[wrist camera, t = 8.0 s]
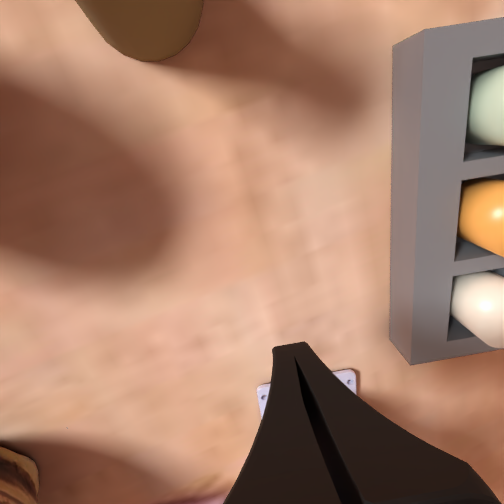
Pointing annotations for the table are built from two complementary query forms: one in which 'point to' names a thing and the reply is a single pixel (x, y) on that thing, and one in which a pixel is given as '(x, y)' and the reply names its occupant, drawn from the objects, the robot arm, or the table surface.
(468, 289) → the cream egg
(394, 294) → the grey compartment tray
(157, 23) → the cork
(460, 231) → the orange rounded blob
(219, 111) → the table surface
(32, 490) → the ceramic jug
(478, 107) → the pale green rounded blob
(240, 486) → the robot arm
